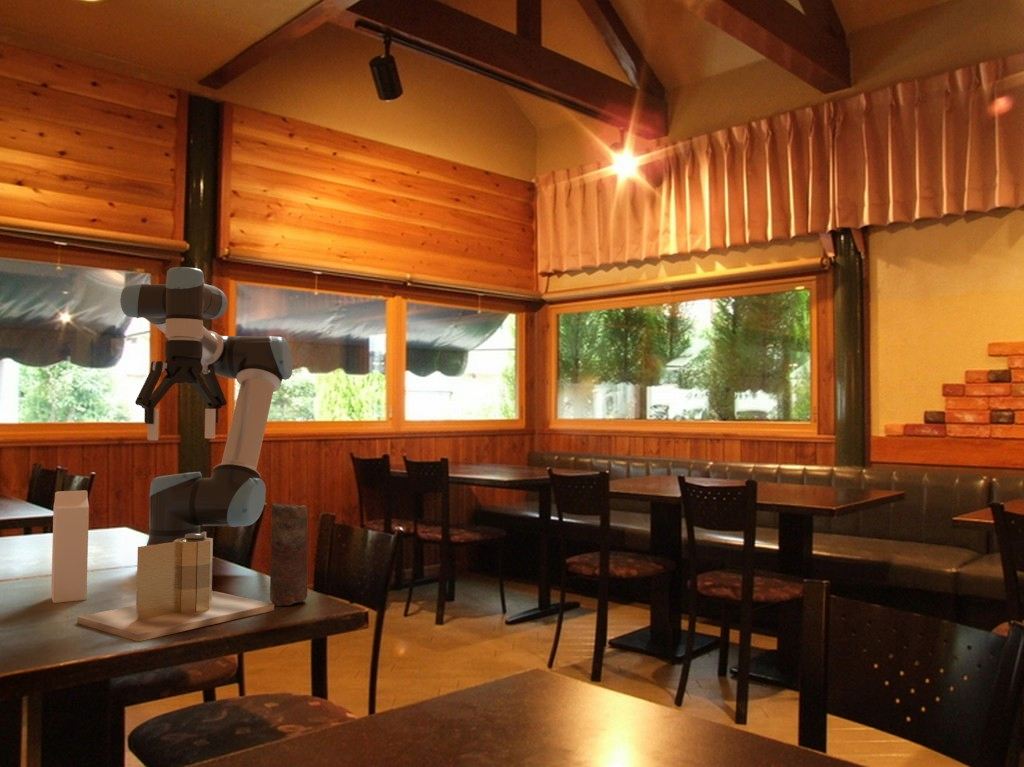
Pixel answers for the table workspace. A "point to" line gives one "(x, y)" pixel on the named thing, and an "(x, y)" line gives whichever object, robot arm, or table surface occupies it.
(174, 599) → the hinge
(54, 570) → the milk
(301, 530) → the candle
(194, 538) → the hinge pin
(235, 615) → the board
